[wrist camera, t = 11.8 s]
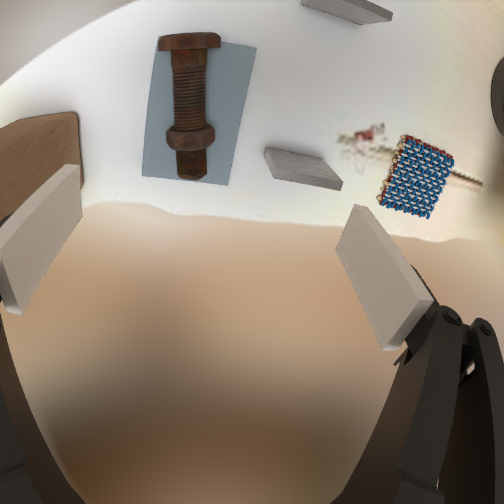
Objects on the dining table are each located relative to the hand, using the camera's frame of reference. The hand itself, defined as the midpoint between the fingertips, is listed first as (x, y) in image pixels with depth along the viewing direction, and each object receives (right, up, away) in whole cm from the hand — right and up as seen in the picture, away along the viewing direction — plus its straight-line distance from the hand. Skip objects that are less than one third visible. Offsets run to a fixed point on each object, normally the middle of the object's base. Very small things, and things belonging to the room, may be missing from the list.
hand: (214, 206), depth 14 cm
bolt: (-5, +13, +15) cm, 21 cm away
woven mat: (+24, +9, +24) cm, 35 cm away
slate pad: (-4, +13, +16) cm, 21 cm away
